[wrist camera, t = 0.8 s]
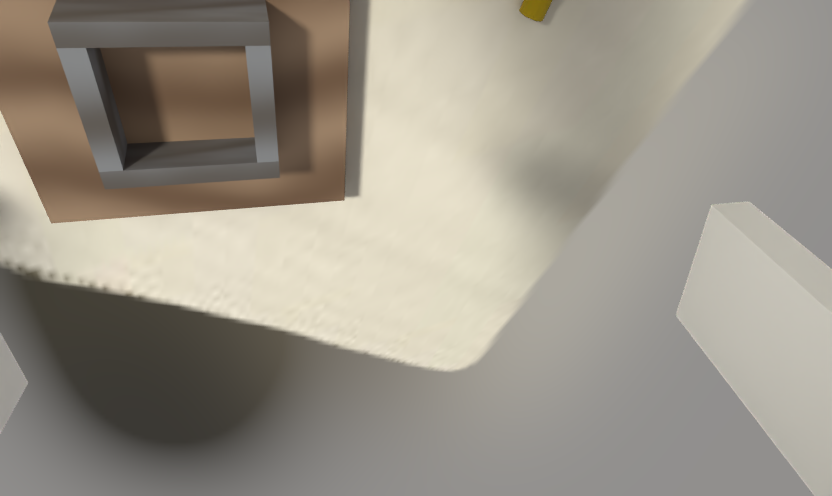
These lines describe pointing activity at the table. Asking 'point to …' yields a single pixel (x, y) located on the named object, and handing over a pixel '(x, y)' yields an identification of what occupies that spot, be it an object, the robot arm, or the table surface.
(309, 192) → the socket block
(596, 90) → the table surface
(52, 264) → the table surface
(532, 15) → the gold torc necklace
